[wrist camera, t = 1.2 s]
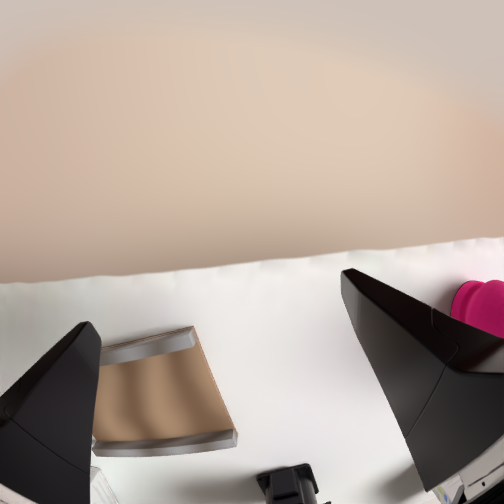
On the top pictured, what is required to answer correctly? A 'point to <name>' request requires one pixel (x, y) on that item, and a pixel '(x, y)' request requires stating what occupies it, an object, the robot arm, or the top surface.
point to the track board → (159, 399)
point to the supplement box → (100, 488)
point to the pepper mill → (481, 306)
